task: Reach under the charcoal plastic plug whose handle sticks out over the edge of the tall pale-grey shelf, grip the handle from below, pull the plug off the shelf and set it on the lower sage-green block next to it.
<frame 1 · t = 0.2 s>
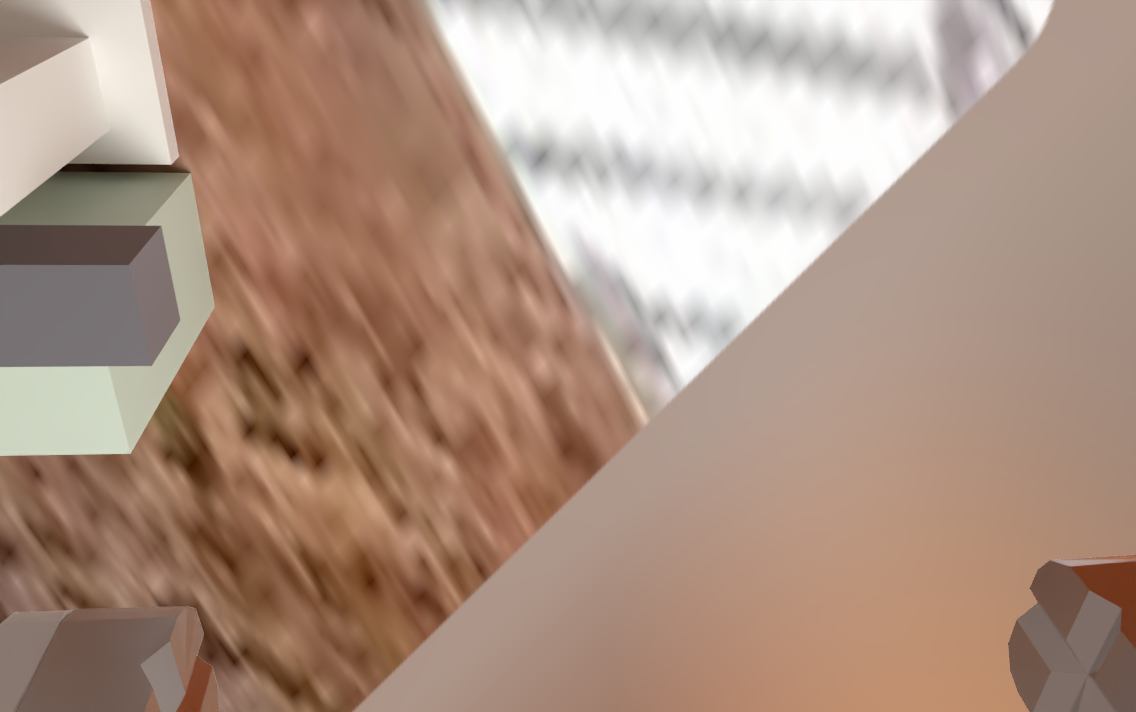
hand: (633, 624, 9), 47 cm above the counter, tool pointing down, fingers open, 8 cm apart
socket block: (111, 242, 56), on the counter
tall shelf: (54, 77, 51), on the counter
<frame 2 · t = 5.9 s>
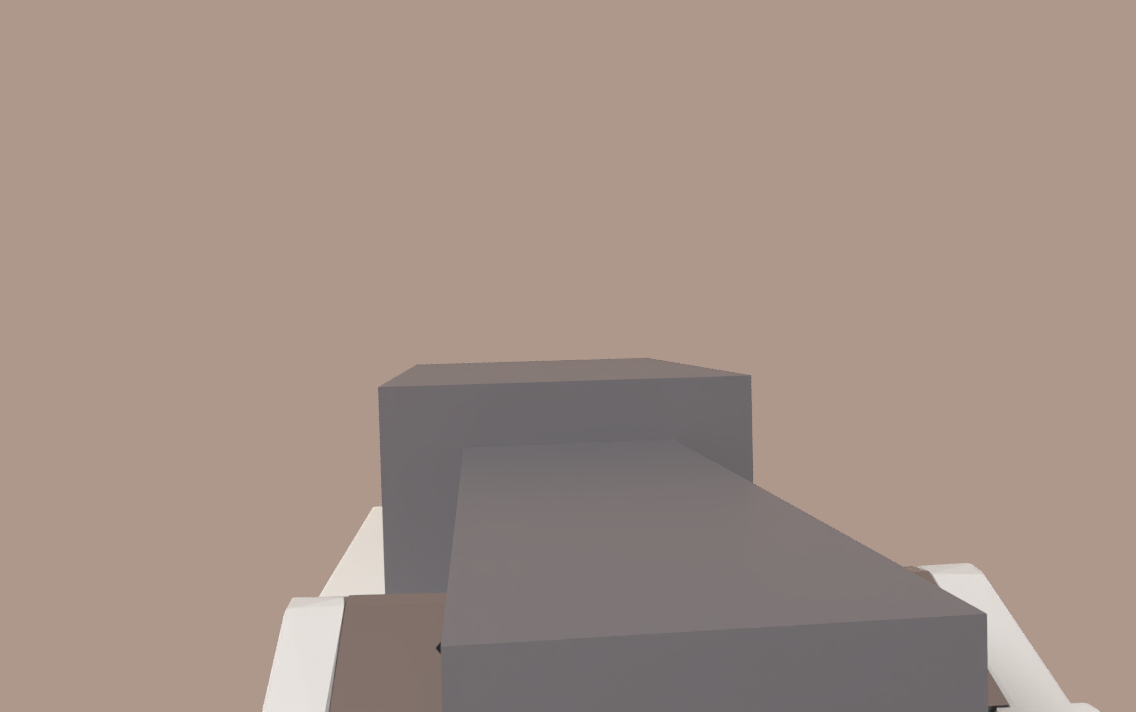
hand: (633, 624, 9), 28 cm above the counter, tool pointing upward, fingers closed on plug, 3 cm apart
plug: (546, 541, 20), point 26 cm above the counter, touching gripper, tall shelf
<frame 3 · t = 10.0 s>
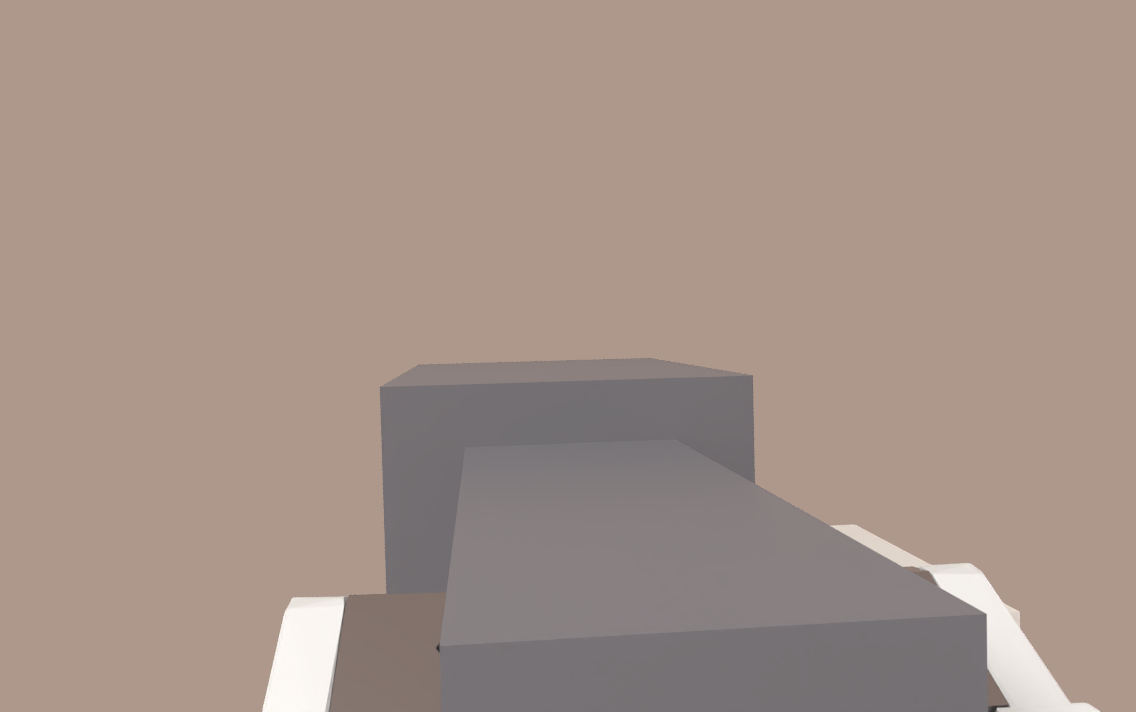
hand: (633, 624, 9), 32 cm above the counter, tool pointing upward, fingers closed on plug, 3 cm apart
plug: (548, 541, 20), point 30 cm above the counter, touching gripper
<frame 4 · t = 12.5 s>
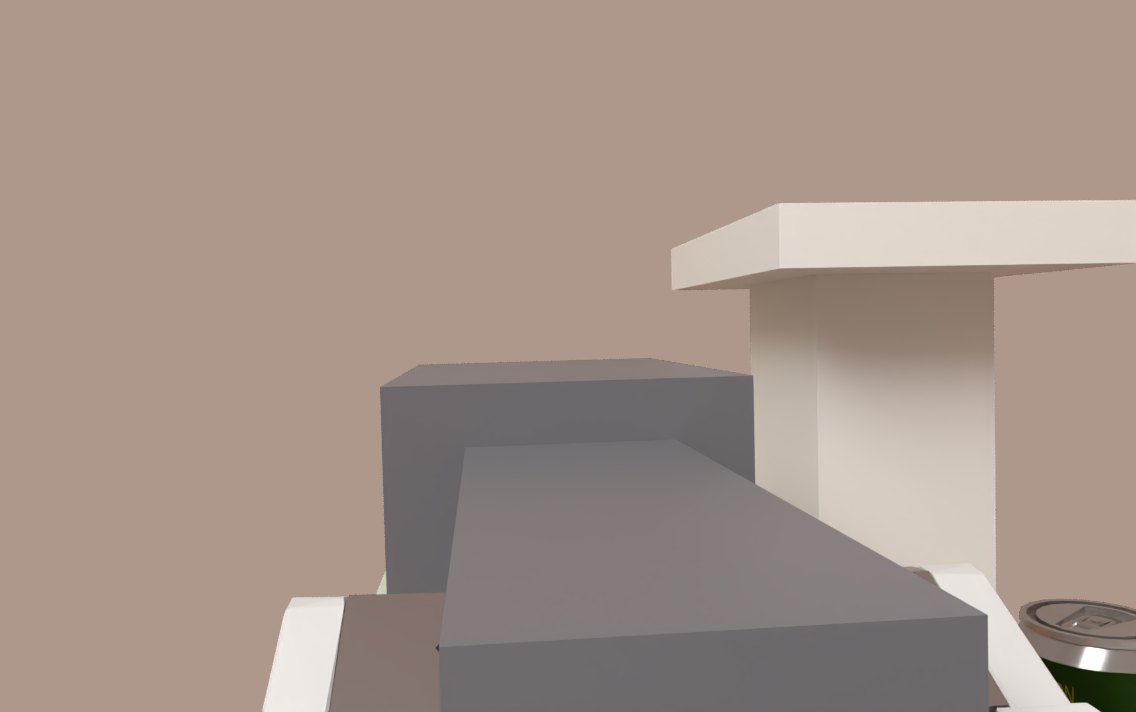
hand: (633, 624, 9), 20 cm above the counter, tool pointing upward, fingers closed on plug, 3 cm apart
plug: (548, 541, 20), point 18 cm above the counter, touching gripper
when the fingers open (19 cm above the counter, at t = 14.4 s): plug drops 1 cm, resting on socket block.
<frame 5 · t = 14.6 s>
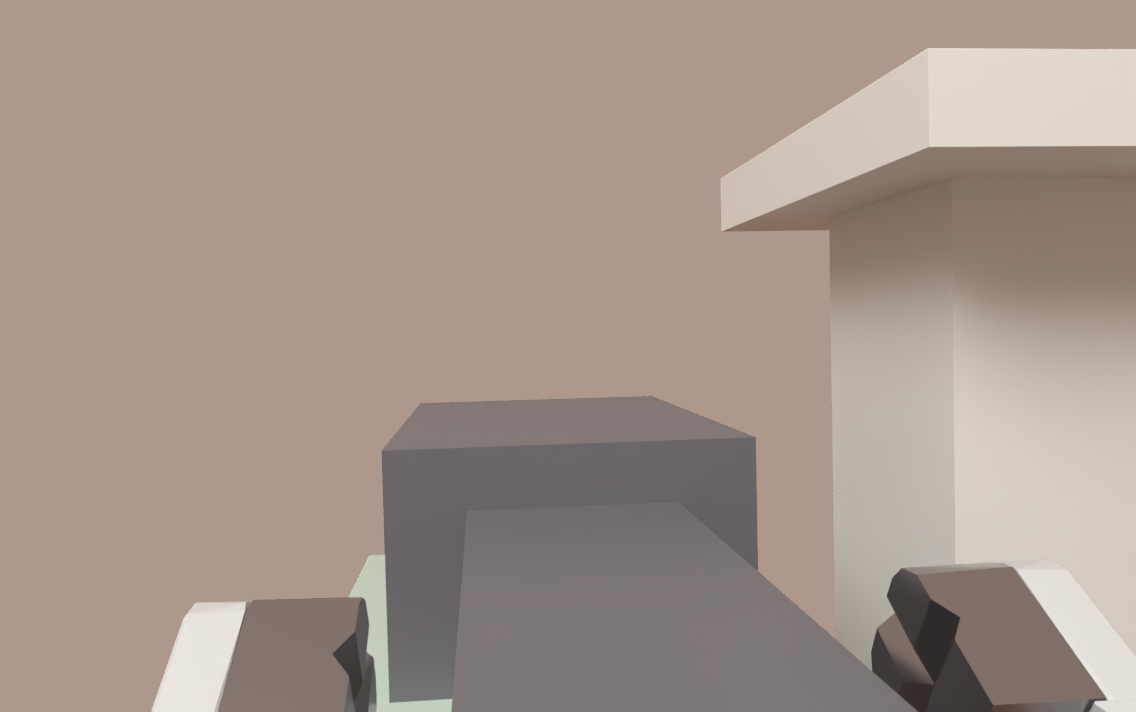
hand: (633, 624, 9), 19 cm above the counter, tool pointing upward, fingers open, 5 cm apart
plug: (549, 585, 20), point 16 cm above the counter, touching socket block
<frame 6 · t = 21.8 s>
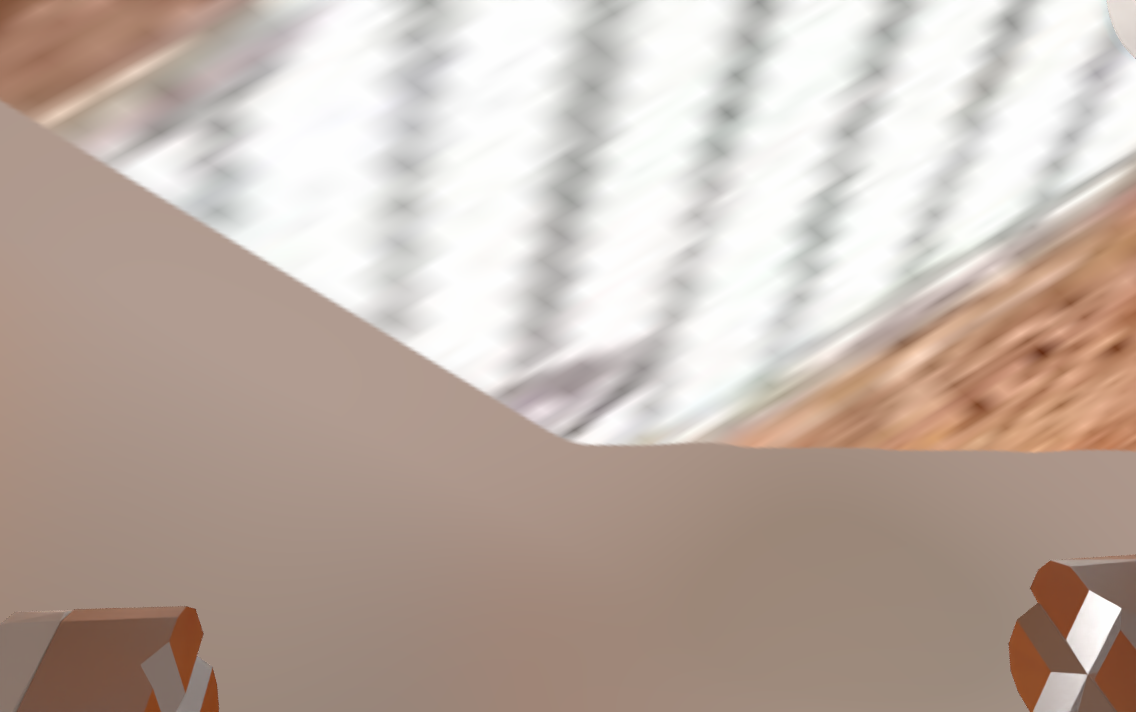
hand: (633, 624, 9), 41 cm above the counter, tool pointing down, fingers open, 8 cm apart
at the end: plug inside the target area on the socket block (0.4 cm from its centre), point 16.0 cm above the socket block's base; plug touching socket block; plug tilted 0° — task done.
